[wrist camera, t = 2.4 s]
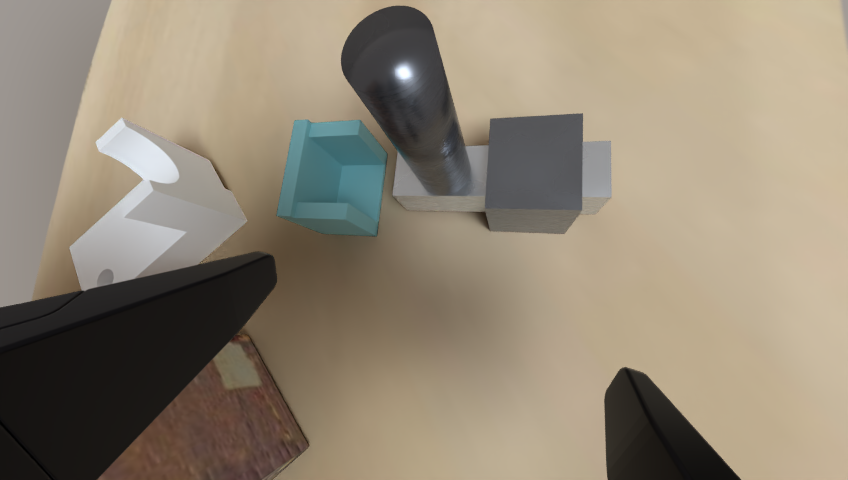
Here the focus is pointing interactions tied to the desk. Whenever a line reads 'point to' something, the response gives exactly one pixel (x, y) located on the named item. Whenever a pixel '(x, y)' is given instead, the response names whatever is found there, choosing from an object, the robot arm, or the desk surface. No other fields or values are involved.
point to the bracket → (156, 212)
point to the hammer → (433, 117)
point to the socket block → (333, 178)
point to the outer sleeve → (534, 173)
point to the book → (218, 427)
